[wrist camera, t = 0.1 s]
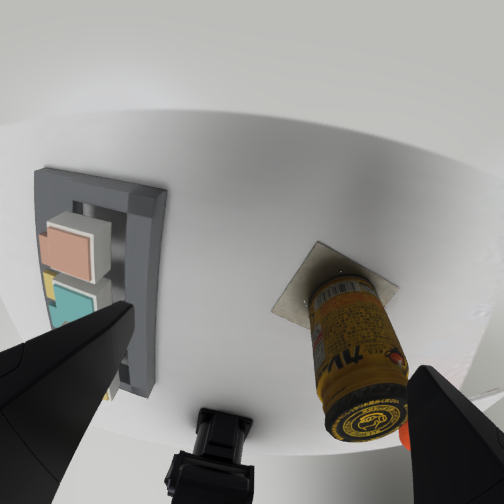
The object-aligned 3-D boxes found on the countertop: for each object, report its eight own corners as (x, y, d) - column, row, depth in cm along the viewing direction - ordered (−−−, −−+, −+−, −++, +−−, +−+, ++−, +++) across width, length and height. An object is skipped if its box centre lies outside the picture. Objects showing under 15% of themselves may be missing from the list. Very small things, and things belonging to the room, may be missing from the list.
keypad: (154, 383, 31) (147, 398, 28) (64, 347, 31) (54, 359, 28) (167, 190, 21) (154, 198, 19) (44, 167, 21) (27, 173, 19)
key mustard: (125, 377, 28) (110, 403, 24) (91, 363, 28) (75, 387, 24) (122, 353, 26) (106, 381, 23) (86, 339, 26) (67, 364, 23)
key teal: (119, 309, 24) (98, 336, 20) (79, 294, 24) (56, 318, 20) (118, 272, 22) (94, 298, 19) (76, 258, 22) (49, 281, 19)
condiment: (349, 345, 26) (372, 456, 15) (270, 310, 25) (260, 432, 14) (398, 286, 23) (455, 392, 12) (317, 240, 22) (345, 350, 11)
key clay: (118, 261, 22) (93, 286, 18) (76, 248, 22) (48, 269, 18) (120, 216, 20) (91, 236, 17) (75, 206, 20) (43, 222, 17)
